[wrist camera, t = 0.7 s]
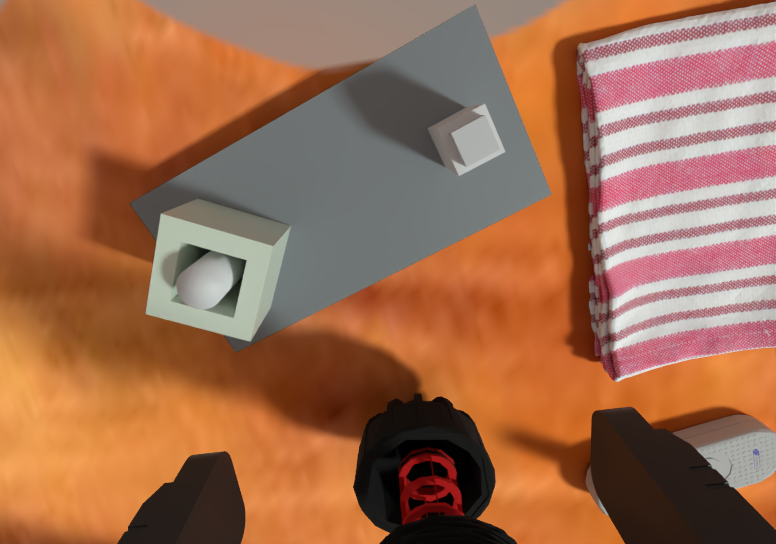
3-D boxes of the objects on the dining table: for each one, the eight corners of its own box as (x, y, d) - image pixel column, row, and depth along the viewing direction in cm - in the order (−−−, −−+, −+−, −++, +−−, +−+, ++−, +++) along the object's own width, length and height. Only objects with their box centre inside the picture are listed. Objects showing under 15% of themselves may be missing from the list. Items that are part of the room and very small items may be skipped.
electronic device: (888, 558, 28) (659, 621, 29) (759, 453, 38) (588, 503, 38) (891, 496, 27) (648, 564, 27) (755, 402, 36) (576, 455, 37)
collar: (290, 225, 29) (273, 246, 24) (270, 307, 30) (250, 341, 26) (198, 198, 28) (160, 213, 23) (182, 283, 30) (145, 314, 25)
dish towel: (588, 367, 35) (611, 393, 31) (566, 43, 27) (591, 32, 24) (811, 325, 34) (858, 347, 31) (848, -19, 27) (915, -40, 23)
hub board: (470, 11, 26) (505, -33, 19) (543, 191, 30) (596, 212, 22) (141, 199, 29) (62, 224, 22) (242, 342, 33) (202, 404, 26)
